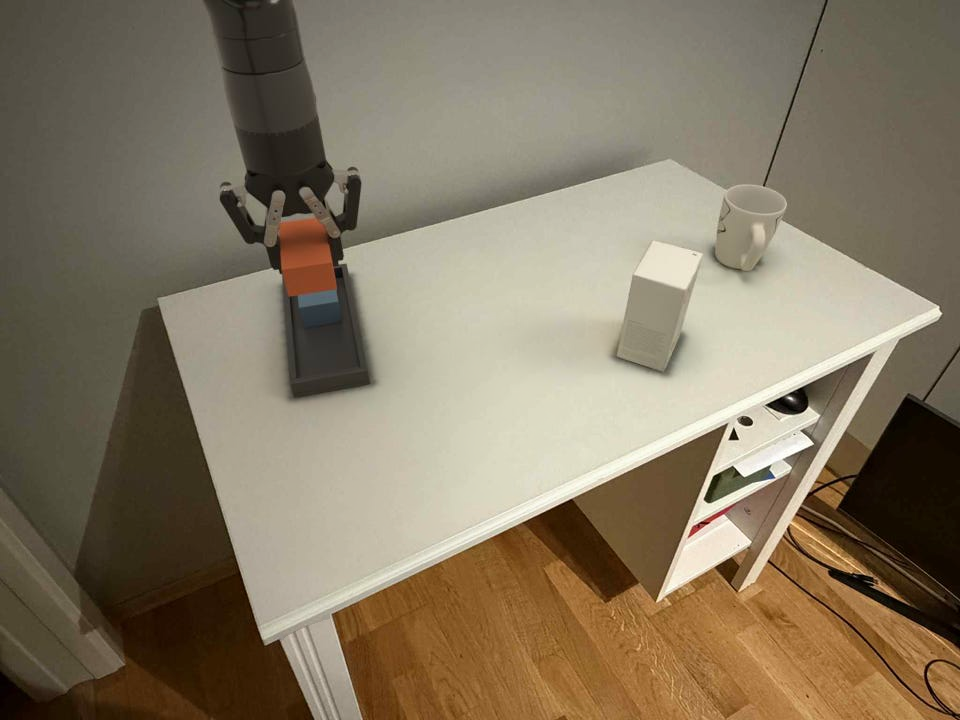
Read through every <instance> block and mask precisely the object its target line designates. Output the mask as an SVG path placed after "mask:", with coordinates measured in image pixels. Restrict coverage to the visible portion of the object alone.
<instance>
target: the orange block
mask: <svg viewBox="0 0 960 720" xmlns="http://www.w3.org/2000/svg"><path fill="white" fill-rule="evenodd" d="M278 235H279V238H280V250H281V251H280V254H281V269H282V273H283V277H284V281H285V285H286V289H287V292H288V296H289V297H290V296H297V295H303V294H310V293H316V292H323V291H329V290H336V289H337V286H336V280H335V274H334V267H333V263H332V258H331V252H330V247H329V244H328V240H327V234H326V230H325V228H324V227H323V225H322V224H320V223H319V221H318V220H317V219H316V217H311V218H304V219H295V220H289V221H281V222H280V228H279V230H278Z"/></svg>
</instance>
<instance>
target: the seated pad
mask: <svg viewBox="0 0 960 720" xmlns="http://www.w3.org/2000/svg"><path fill="white" fill-rule="evenodd" d="M298 304H299V310H300V314H301V318H302V322H303V326H304V328H308V327H314V326H320V325H326V324H332V323H338V322H342V318H341V312H340V307H339V301H338V295H337V289H336V290H329V291H323V292H316V293H310V294H303V295H298Z"/></svg>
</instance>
